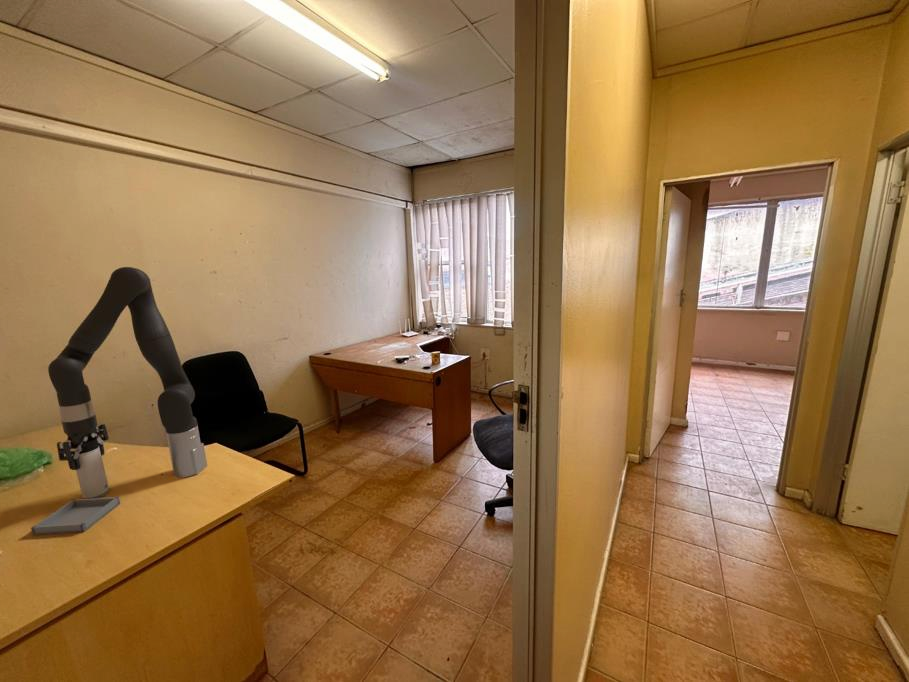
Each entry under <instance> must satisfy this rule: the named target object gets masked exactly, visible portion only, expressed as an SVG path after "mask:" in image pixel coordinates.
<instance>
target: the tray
mask: <svg viewBox="0 0 909 682" xmlns="http://www.w3.org/2000/svg"><path fill="white" fill-rule="evenodd" d="M119 505H121V499H120V497H119V496H112V497H111V496H109V497H100V498H92V499H83V498H78V499H77V498H76V499H72V500H70V501H69V502H67V503H65V505H63V506H61V507H60V508H58V509H57V510H55V511H54V512H53V513H51V514H50V515H47V516H46V517H45V518H43V519H42V520H40V521H39V522H38V523H36V524H34V525H33V526H32V527H30V529H31V533H32V536H45V535H46V536H47V535H59V534H60V535H61V534H72V533H73V534H75V533H86V531H87V530H89V529H90V528H91V527H93V526H94V525H95V524H97V522H99V521H101V519H103V518H104V517H105V516H107V515H108V514H109V513H111V512H112V511H113V510H114V509H116V508H117V507H118V506H119Z"/></svg>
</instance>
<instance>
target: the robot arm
mask: <svg viewBox="0 0 909 682" xmlns="http://www.w3.org/2000/svg"><path fill="white" fill-rule="evenodd" d="M109 277H110V278H109V279H108V282H107V284H106V286H105V288H104V290H103V293H102V294H101V296H100V298H99V299H98V301H97V303H96V304H95V305H94V307H93V308H92V309H91V311H90V312H89V313H88V314H87V316H86V317H85V318H84V319H83V321H82V322H81V323H80V324H79V326H78V327H77V328H76V329H75V331H74V332H73V334H72V335H71V337H70V338H69V340H68V344H67V345H66V346H65V347H64V349H63V350H62V351H61V352H60V353H59V355H58V356H57V357H56V358H55V359H54V360H52V361H50V363H49V365H48V368H47V369H48V370H47V371H48V376H49V380H50V381H51V384H52V386H53V388H54V391H55V393H56V397H57V402H58V406H59V407H58V408H59V409H58V410H59V418H60V420H61V424H62V431H63V433H64V434H65V435H66V436H67V439H66V440H64V441H58V442H57V443H56V448H57V454H58V460H59V461H62V462H64V461H67V464H68V468H69V469H70V470H71V471H76V470H78V469H80V463H79V459H78V458H77V457H78V455H79V453H80V452H81V451H82V448H81V446H84V444H86V443H88V442H89V441H91V440H93V439H94V437H96V436H98V438H97V441H98V445H99V448H100V452H101V456H104V455H105V447H104V444H105V442H106V441H109V434H108V430H107V426H106V424H104V423H103V424H102V423H100V424H98V420H97V416H96V411H95V407H94V404H93V401H92V398H91V392H90V389H89V386H88V385H87V384H86V383H85V380H84V375H83V371H84V369H86V367H87V365H89V364H88V363H89V362H90V361H91V359H92V358H93V356H94V354H95V353H96V352H97V351H98V350H99V349H100V348H101V346H102V344H103V343H104V342H105V341H106V340H107V338H108V337H109V335H110V333H111V332H112V330H113V328H114V327H115V325H116V323H117V322H118V319H119V317H120V316H121V315H122V313H123V311H124V310H125V309H126V307H128V309H129V312H130V316H131V324H132V329H133V335H134V338H135V341H136V344H137V346H138V348H139V350H140V352H141V355H142V356H143V358H144V359H145V360H146V362H147V363H148V364H149V365H150V366H151V367H152V368H153V369H154V370H155V371H156V372H157V374H158V376H159V378H160V380H161V383H162V387H163V391H162V392H161V393H160V394H159V396H158V398H157V409H158V414H159V417H160V423H161V425H162V427H163V428H164V430H165V433H166V439H167V445H168V450H169V455H170V461H171V464H172V471H173V476H174V477H175V478H180V479H181V478H187V477H191V476H194V475H198V474H200V473H201V472H202V471H203V470H204V469H205V468H206V467H207V466H208V462H207V455H206V451H205V444H204V442H201V438H200V437H201V436H200V431H199V426H198V420H197V418H196V417H195V416H193V410H192V406H191V405H192V403H193V402H194V400H195V399H196V398H195V397H196V393H195V392H196V391H195V390H194V389H195V388H194V387H193V385H192V384H191V382H190V380H189V378H188V376H187V374H186V372H185V370H184V368H183V366H182V362H181V360H180V357H179V354H178V351H177V349H176V346H175V343H174V340H173V338H172V335H171V332H170V330H169V327H168V326H167V324H166V322H165V318H164V317H163V316H162V314H161V312H160V310H159V308H158V305H157V302H156V299H155V296H154V291H153V287H152V282H151V279H150V277H149V275H148V274H147V273H146V272H144V271H143V270H141V269H139V268H137V267H133V266H131V267H130V266H122V267H119V268H116V269H115V270H114V271H113V272H112V273H111V274H110V276H109ZM73 447H78V448H77V449H72V448H73ZM73 452H74V455H72V453H73Z"/></svg>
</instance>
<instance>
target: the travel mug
mask: <svg viewBox="0 0 909 682" xmlns="http://www.w3.org/2000/svg"><path fill="white" fill-rule="evenodd" d="M97 438H98V436H96V437H94V439H93V440H91V441H89V442H88V443H86V444H84V446H81V448H82V451H81V452H80V453H79V455H78V457H77V458H78V459H79V463H80V469H78V470H75V472H76V476H77V480H78V484H79V488H80V492H81V495H82V499H92V498H104V496H106V495H108V494H109V492H110V488H109V483H108V478H107V473H106V469H105V465H104V460H103V457H102V456H103V455H102V456H101V452H100V448H99V445H98V441H97ZM77 448H78V447H73V448H72V449H77ZM72 455H74V452H73V453H72Z"/></svg>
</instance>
